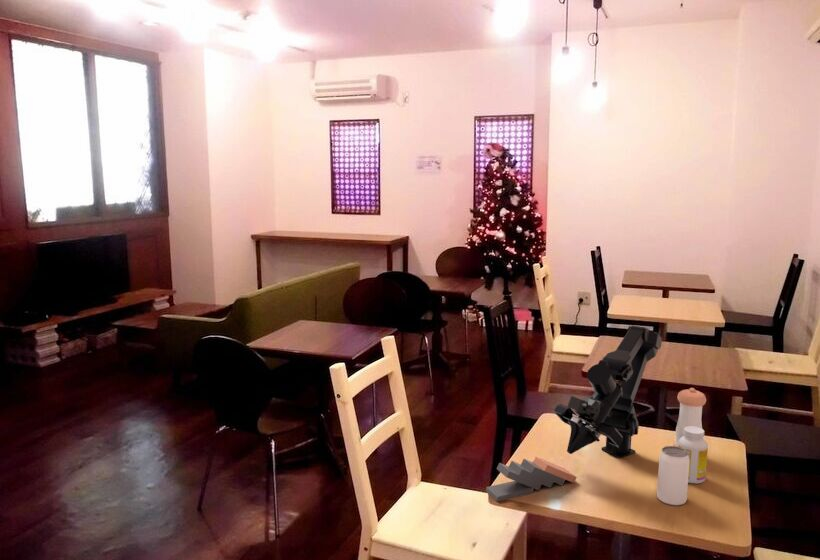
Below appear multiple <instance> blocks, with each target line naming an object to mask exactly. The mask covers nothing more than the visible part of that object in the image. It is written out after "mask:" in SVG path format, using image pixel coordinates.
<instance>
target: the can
mask: <svg viewBox="0 0 820 560" xmlns="http://www.w3.org/2000/svg"><path fill="white" fill-rule="evenodd" d="M658 460H659V461H658V474H657V488H656V489H657V490H656V497H657V499H658V500H659V501H660V502H662V503H663V504H666V505H669V506H674V507H675V506H677V507H678V506H682V505H684V504H686V502H687V499H688V486H689V483H688V476H689V457H688V452H687V451H686V450H685V449H683V448H680V447H675V446H673V445H666V446H664V447H662V448H661V452H660V453H659V459H658Z"/></svg>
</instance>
